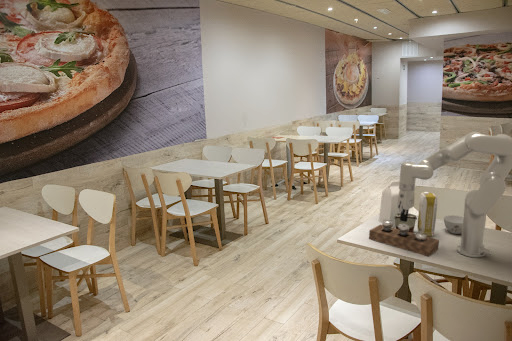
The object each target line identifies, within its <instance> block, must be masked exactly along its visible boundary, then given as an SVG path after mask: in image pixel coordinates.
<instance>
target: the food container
mask: <svg viewBox="0 0 512 341" xmlns="http://www.w3.org/2000/svg"><path fill="white" fill-rule="evenodd" d="M400 215H401V213H397V214H395V216H394V219H395V227H394V228H396V229H398V227H399V224H408V225H409V231H408V232H411V233H414V231H415V226H416V222H417V221H418V216H417V215H416V214H413V213H410V212H408V219H407V221H406V222H404V221H400Z"/></svg>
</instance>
